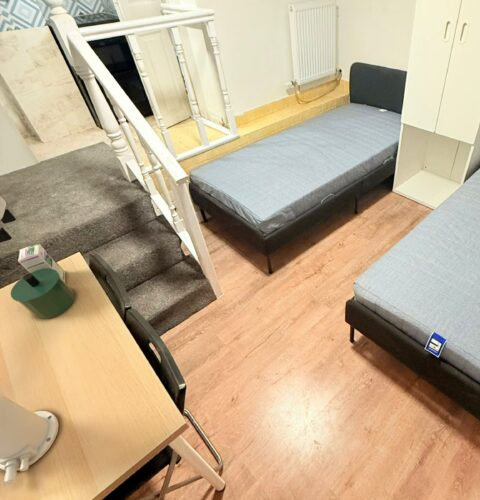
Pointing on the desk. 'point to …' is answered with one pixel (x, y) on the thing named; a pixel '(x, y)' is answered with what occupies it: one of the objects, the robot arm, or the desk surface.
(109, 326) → the desk surface
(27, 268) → the syrup box
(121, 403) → the desk surface
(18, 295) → the tin lid
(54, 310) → the tin
